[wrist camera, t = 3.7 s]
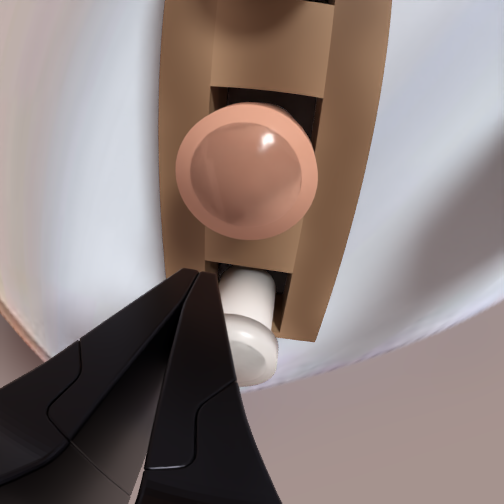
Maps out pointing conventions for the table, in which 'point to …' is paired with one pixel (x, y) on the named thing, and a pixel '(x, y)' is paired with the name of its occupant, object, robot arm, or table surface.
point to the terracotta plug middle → (247, 171)
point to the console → (322, 137)
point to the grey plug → (250, 322)
